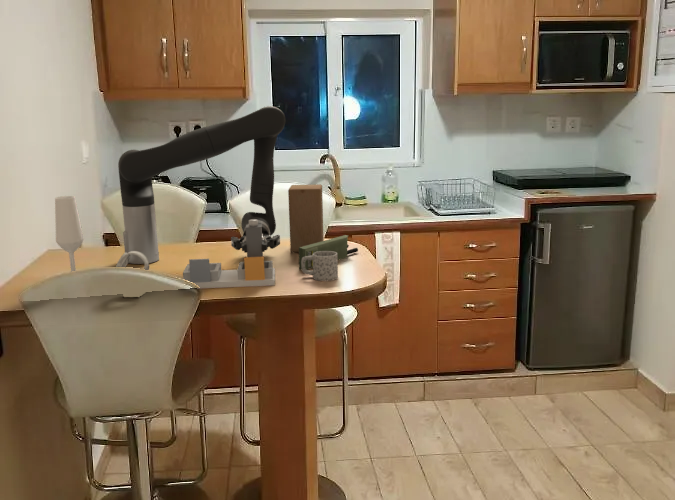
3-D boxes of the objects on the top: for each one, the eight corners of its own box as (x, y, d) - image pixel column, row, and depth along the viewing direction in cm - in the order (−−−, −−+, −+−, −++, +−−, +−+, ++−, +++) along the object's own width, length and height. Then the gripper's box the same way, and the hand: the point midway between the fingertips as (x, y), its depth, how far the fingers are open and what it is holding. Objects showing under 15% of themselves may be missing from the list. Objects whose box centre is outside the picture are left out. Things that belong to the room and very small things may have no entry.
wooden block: (322, 252, 211) (320, 188, 206) (290, 252, 211) (288, 189, 207) (323, 245, 221) (322, 184, 216) (293, 245, 221) (291, 184, 216)
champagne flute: (76, 292, 172) (66, 199, 167) (55, 290, 175) (44, 198, 169) (94, 285, 178) (84, 195, 173) (74, 283, 181) (64, 195, 175)
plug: (248, 272, 178) (245, 221, 175) (248, 268, 182) (246, 219, 179) (263, 271, 178) (260, 221, 175) (263, 267, 182) (261, 218, 179)
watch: (123, 291, 173) (119, 249, 170) (154, 291, 172) (150, 249, 170) (115, 297, 168) (110, 254, 165) (146, 297, 167) (142, 254, 164)
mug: (340, 275, 184) (339, 251, 183) (334, 281, 178) (334, 257, 176) (305, 273, 186) (304, 250, 185) (298, 280, 180) (297, 255, 179)
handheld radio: (296, 269, 192) (352, 252, 210) (305, 271, 190) (360, 254, 208) (296, 246, 190) (352, 231, 208) (305, 248, 188) (361, 233, 206)
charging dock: (181, 289, 174) (178, 260, 172) (187, 276, 185) (185, 250, 184) (274, 285, 175) (273, 257, 174) (275, 273, 187) (274, 246, 185)
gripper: (230, 223, 191) (225, 235, 175) (281, 221, 192) (281, 233, 176) (232, 248, 193) (227, 263, 176) (282, 246, 194) (282, 261, 177)
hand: (254, 248), depth 176 cm, fingers closed on plug, 4 cm apart
